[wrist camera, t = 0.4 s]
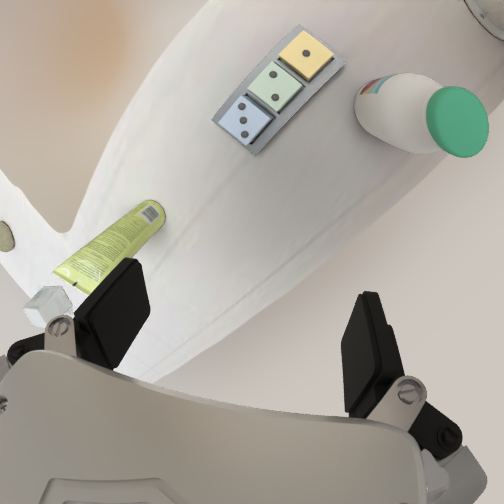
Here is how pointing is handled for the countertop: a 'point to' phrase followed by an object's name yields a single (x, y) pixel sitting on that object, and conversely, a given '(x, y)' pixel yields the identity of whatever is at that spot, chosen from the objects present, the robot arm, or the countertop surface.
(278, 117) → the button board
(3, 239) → the sea urchin shell
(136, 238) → the tube
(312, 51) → the single pip yellow cube
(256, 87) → the pale green cube
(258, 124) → the blue pip cube
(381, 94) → the milk bottle
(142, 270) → the robot arm
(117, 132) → the countertop surface
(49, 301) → the skincare box
